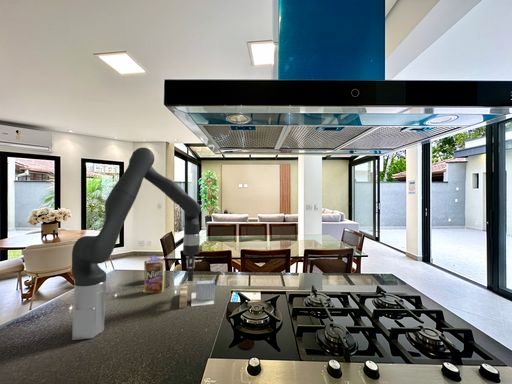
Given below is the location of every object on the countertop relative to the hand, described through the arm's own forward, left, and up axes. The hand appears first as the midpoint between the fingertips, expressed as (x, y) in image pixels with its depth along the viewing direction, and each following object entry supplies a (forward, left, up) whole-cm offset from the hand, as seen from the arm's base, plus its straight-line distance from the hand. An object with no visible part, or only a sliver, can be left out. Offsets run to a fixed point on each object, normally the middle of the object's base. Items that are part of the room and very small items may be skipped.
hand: (190, 278), depth 114 cm
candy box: (+16, +18, -10) cm, 26 cm away
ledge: (+1, +3, -10) cm, 10 cm away
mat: (+1, -6, -10) cm, 12 cm away
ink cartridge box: (+35, +21, -10) cm, 42 cm away
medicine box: (-1, -3, -6) cm, 6 cm away
